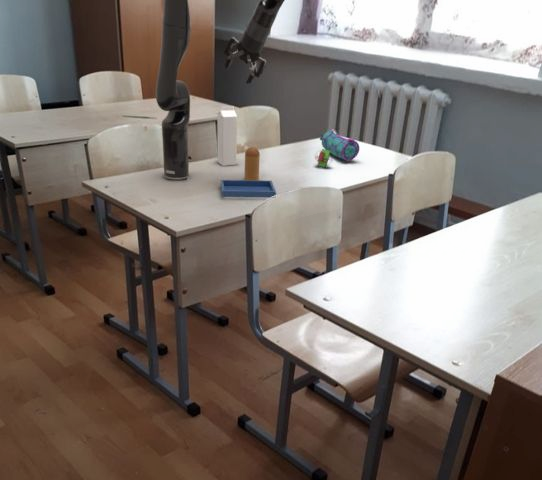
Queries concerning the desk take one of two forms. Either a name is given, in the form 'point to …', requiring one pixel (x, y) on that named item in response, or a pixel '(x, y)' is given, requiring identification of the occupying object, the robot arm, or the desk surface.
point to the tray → (247, 188)
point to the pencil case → (340, 145)
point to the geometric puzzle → (322, 157)
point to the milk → (226, 136)
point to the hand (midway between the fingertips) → (237, 75)
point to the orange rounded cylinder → (252, 164)
